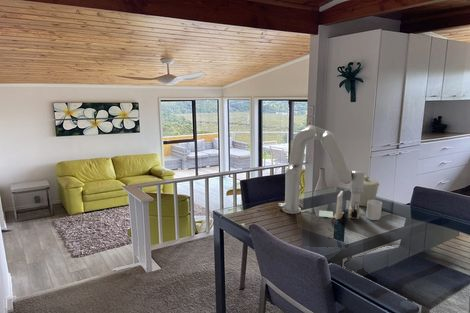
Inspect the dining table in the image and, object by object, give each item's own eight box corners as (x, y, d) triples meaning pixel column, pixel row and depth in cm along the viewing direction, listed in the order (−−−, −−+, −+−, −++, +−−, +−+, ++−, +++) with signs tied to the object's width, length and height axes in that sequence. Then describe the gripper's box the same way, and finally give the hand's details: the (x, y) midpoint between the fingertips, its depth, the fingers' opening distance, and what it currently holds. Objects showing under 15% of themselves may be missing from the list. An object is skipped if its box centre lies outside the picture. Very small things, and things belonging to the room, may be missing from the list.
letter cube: (349, 217, 217) (350, 209, 216) (348, 213, 223) (349, 205, 221) (358, 218, 216) (359, 210, 214) (358, 215, 222) (359, 206, 220)
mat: (318, 216, 220) (318, 215, 220) (319, 211, 228) (319, 210, 228) (333, 218, 218) (333, 217, 218) (332, 212, 226) (332, 211, 226)
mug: (380, 222, 212) (382, 206, 209) (365, 219, 216) (366, 203, 213) (380, 214, 223) (382, 199, 220) (366, 212, 226) (368, 197, 224)
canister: (345, 203, 241) (348, 175, 236) (358, 197, 253) (360, 170, 247) (369, 211, 228) (372, 182, 223) (381, 204, 240) (385, 176, 234)
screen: (332, 218, 218) (334, 195, 213) (337, 212, 227) (338, 190, 223) (339, 220, 215) (341, 196, 211) (343, 213, 225) (345, 191, 220)
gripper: (349, 184, 223) (347, 209, 228) (351, 193, 207) (348, 220, 212) (361, 185, 222) (358, 210, 226) (364, 195, 206) (361, 221, 210)
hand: (353, 215), depth 219 cm, fingers closed on letter cube, 6 cm apart
